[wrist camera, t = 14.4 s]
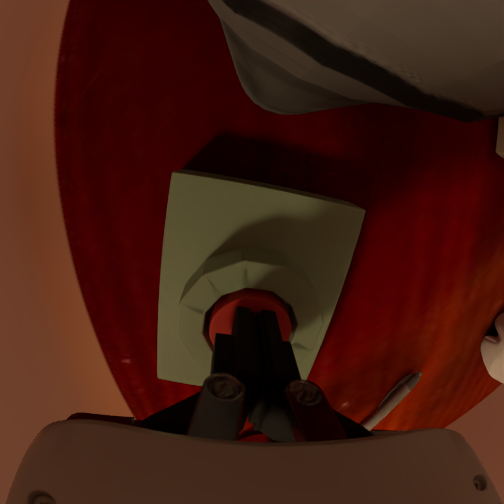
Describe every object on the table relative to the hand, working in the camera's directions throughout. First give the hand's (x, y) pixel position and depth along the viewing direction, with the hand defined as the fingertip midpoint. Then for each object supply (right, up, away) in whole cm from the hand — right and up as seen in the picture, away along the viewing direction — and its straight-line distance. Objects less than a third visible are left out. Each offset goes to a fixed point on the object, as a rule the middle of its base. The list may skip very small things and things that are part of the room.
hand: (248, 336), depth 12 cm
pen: (+11, -12, +10) cm, 19 cm away
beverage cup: (+2, +13, 0) cm, 13 cm away
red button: (0, +1, +2) cm, 2 cm away
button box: (0, +2, +4) cm, 4 cm away
